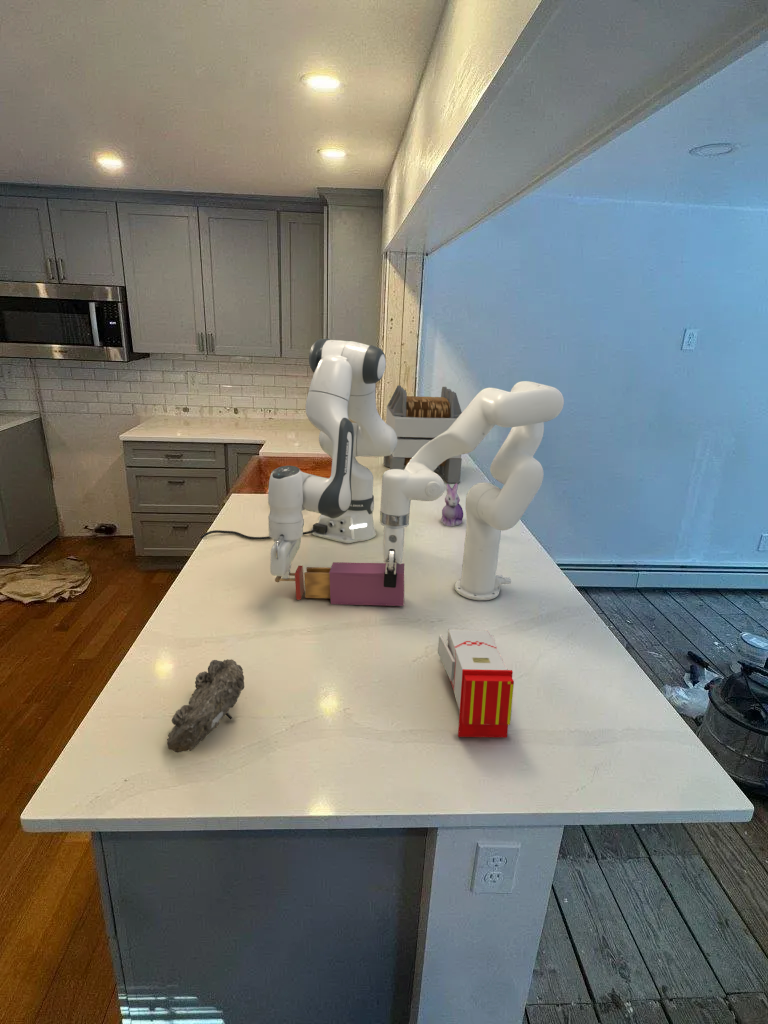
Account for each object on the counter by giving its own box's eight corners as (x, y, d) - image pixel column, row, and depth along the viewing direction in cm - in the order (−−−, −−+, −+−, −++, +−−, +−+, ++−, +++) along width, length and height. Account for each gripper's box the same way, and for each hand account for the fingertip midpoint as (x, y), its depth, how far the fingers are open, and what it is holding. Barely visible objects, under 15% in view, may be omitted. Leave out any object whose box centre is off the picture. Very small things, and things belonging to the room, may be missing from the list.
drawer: (275, 599, 152) (273, 573, 149) (280, 590, 157) (278, 565, 154) (364, 601, 151) (364, 574, 148) (366, 592, 155) (365, 566, 153)
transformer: (382, 463, 289) (386, 382, 275) (445, 464, 293) (451, 384, 279) (390, 482, 257) (394, 392, 243) (460, 483, 261) (468, 394, 247)
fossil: (192, 660, 117) (244, 628, 112) (224, 691, 120) (276, 661, 115) (142, 746, 98) (202, 712, 93) (182, 779, 101) (242, 748, 96)
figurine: (448, 528, 206) (452, 489, 201) (433, 519, 215) (436, 481, 210) (470, 525, 210) (473, 486, 205) (454, 516, 219) (457, 479, 214)
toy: (488, 613, 130) (523, 677, 101) (484, 667, 133) (517, 744, 104) (435, 612, 130) (455, 676, 101) (432, 666, 133) (451, 743, 103)
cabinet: (330, 604, 151) (329, 572, 148) (334, 593, 157) (332, 562, 154) (403, 605, 150) (403, 573, 147) (404, 594, 156) (404, 563, 153)
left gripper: (289, 544, 137) (289, 595, 142) (305, 517, 157) (304, 563, 161) (263, 542, 138) (264, 593, 142) (282, 515, 157) (283, 561, 161)
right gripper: (408, 531, 137) (403, 597, 143) (409, 507, 153) (405, 568, 159) (377, 528, 137) (373, 594, 143) (382, 505, 153) (378, 566, 159)
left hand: (286, 577), depth 152 cm, fingers closed
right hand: (390, 580), depth 151 cm, fingers closed on cabinet, 6 cm apart
